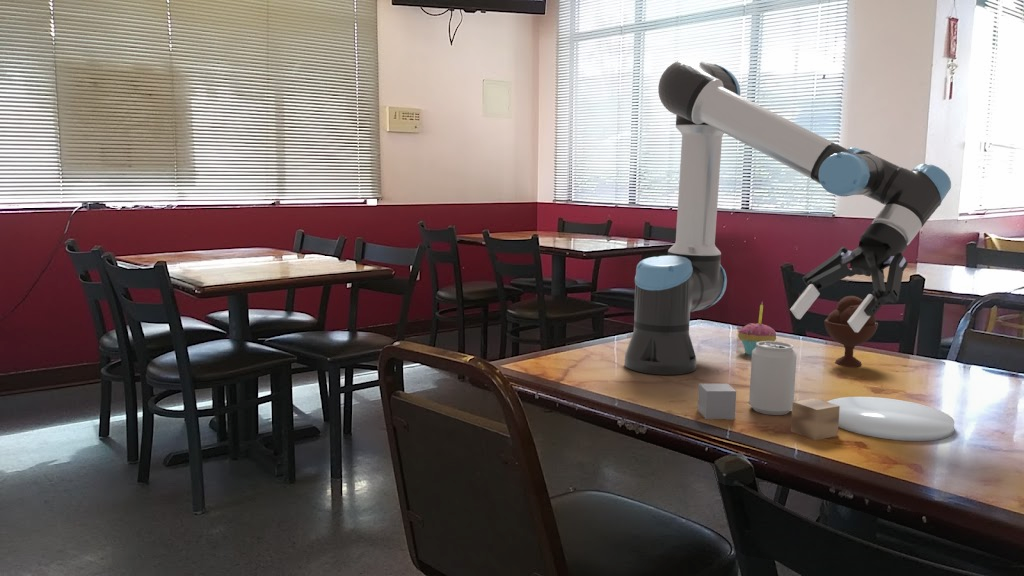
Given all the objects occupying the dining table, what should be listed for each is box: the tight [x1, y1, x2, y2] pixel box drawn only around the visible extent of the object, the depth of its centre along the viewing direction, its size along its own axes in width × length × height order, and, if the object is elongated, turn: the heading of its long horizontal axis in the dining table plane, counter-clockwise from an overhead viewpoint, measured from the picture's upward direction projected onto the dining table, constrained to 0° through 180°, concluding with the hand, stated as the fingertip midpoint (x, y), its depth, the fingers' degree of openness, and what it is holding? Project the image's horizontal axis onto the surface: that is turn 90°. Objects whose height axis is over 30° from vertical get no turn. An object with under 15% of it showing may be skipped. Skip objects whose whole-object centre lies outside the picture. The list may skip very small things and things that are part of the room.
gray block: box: [697, 383, 737, 420], centre depth 138 cm, size 5×5×5 cm
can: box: [748, 340, 798, 416], centre depth 141 cm, size 8×8×12 cm
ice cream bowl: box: [823, 295, 879, 368], centre depth 176 cm, size 11×11×15 cm
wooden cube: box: [790, 397, 840, 441], centre depth 129 cm, size 5×5×5 cm
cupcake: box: [737, 301, 777, 356], centre depth 186 cm, size 9×8×12 cm
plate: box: [826, 396, 955, 442], centre depth 135 cm, size 20×20×2 cm
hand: (822, 320), depth 144 cm, fingers open, 13 cm apart
